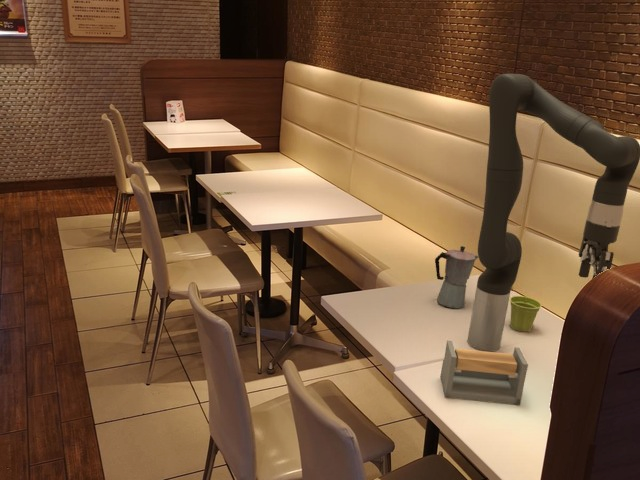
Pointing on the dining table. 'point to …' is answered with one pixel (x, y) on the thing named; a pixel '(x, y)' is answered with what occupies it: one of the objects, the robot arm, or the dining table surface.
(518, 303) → the plant pot
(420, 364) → the dining table surface
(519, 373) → the grey rack
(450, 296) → the moka pot
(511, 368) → the shelf board
